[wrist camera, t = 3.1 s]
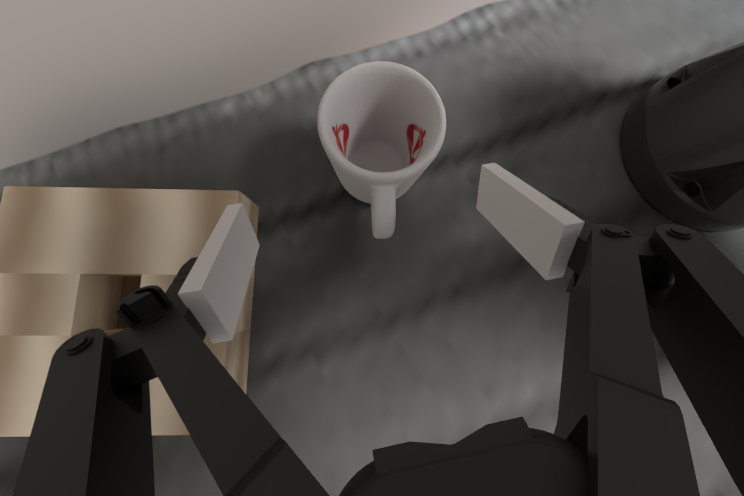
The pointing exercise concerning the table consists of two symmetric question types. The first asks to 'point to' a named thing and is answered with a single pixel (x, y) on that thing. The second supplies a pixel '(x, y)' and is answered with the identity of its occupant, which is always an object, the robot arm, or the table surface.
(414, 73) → the cup
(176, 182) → the table surface
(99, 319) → the opening block
